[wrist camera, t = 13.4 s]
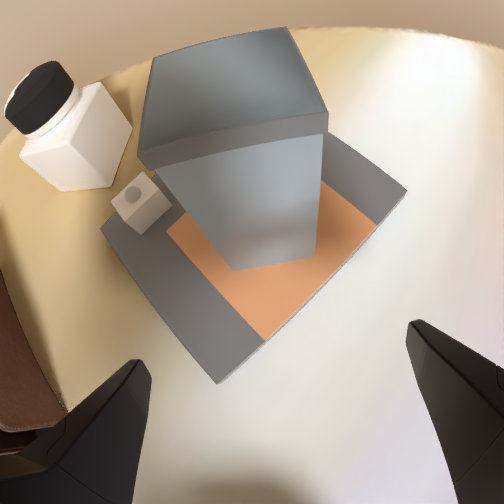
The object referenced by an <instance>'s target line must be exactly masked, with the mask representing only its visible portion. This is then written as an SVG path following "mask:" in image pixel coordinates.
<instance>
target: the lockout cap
mask: <svg viewBox="0 0 504 504" xmlns="http://www.w3.org/2000/svg"><path fill="white" fill-rule="evenodd" d="M328 117H329V113H328V111H327V108H326V106H325V104H324V101H323V99H322V97H321V95H320V92H319V90H318V88H317V86H316V84H315V81H314V79H313V77H312V75H311V73H310V71H309V69H308V67H307V65H306V63H305V61H304V59H303V57H302V55H301V53H300V51H299V49H298V47H297V45H296V43H295V41H294V39H293V37H292V35H291V33H290V32H289V30H288V28H287V27H279V28H272V29H265V30H259V31H253V32H248V33H243V34H238V35H233V36H228V37H224V38H219V39H216V40H211V41H207V42H203V43H199V44H196V45H193V46H189V47H185V48H182V49H179V50H176V51H172V52H169V53H166V54H163V55H160V56H158V57H154V58H153V61H152V65H151V70H150V75H149V80H148V85H147V91H146V96H145V102H144V108H143V115H142V121H141V128H140V135H139V143H138V152H137V156H138V157H139V159H140V160H141V161H142V163H143V164H144V165H145V166H146V168H147V169H148V170H149V171H151V170H155V172H156V173H157V174H158V176H159V177H160V178H161V179H162V181H163V182H164V183H165V185H166V186H167V187H168V189H169V190H170V191H171V192H172V194H173V195H174V196H175V198H176V199H177V200H178V202H179V203H180V204H181V205H182V207H183V208H184V209H185V211H186V212H187V213H188V214H189V216H190V217H191V218H192V219H193V221H194V222H195V223H196V225H197V226H198V227H199V228H200V230H201V231H202V232H203V233H204V235H205V236H206V237H207V238H208V240H209V241H210V242H211V244H212V245H213V246H214V247H215V249H216V250H217V251H218V252H219V254H220V255H221V256H222V257H223V259H224V260H225V261H226V262H227V264H228V265H229V266H230V267H231V269H232V270H233V271H239V270H245V269H250V268H256V267H262V266H268V265H273V264H279V263H285V262H290V261H296V260H301V259H307V258H312V257H314V255H315V245H316V234H317V223H318V211H319V198H320V183H321V167H322V148H323V134H325V133H328Z"/></svg>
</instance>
